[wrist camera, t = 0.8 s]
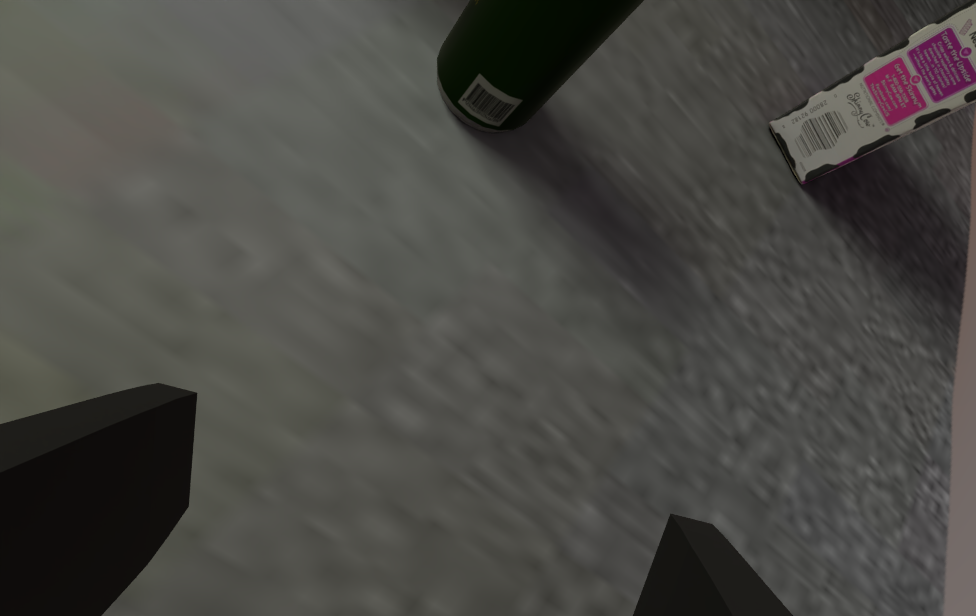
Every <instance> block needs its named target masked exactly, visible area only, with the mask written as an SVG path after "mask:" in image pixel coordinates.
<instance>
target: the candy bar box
mask: <svg viewBox="0 0 976 616" xmlns="http://www.w3.org/2000/svg"><path fill="white" fill-rule="evenodd" d="M974 102H976V0H968V1H967V2H965V3H964V4H962V5H960V6H958V7H957V8H955V9H953V10H952V11H950V12H949V13H947V14H945V15H944V16H942V17H940V18H939V19H937V20H936V21H934V22H932V23H930V24H929V25H928V26H926V27H924V28H923V29H921V30H919V31H918V32H916V33H914V34H913V35H911V36H910V37H908V38H906V39H905V40H903V41H902V42H900V43H899V44H897V45H895V46H894V47H892V48H890V49H889V50H887V51H885V52H884V53H882V54H880V55H879V56H877V57H875V58H874V59H872V60H871V61H869V62H868V63H866V64H864V65H863V66H861V67H859V68H858V69H856V70H855V71H853V72H851V73H850V74H848V75H846V76H845V77H843V78H842V79H840V80H838V81H837V82H835V83H833V84H832V85H830V86H829V87H827V88H825V89H824V90H822V91H820V92H819V93H817V94H815V95H814V96H812V97H811V98H809V99H807V100H806V101H804V102H803V103H801V104H799V105H798V106H796V107H794V108H793V109H791V110H790V111H788V112H786V113H785V114H783V115H782V116H780V117H778V118H776V119H775V120H773V121H771V122H769V126H770V128H771V130H772V132H773V134H774V136H775V138H776V140H777V142H778V144H779V146H780V148H781V149H782V151H783V153H784V155H785V157H786V159H787V161H788V163H789V165H790V167H791V169H792V171H793V172H794V174H795V176H796V177H797V179H798V181H799V182H800V183H801V184H805V183H807V182H809V181H812V180H814V179H816V178H818V177H820V176H822V175H825V174H827V173H829V172H831V171H833V170H835V169H838V168H840V167H842V166H844V165H846V164H848V163H850V162H852V161H854V160H856V159H858V158H860V157H863V156H865V155H867V154H869V153H871V152H873V151H875V150H877V149H879V148H881V147H883V146H885V145H888V144H890V143H892V142H894V141H896V140H898V139H900V138H902V137H904V136H906V135H908V134H911V133H913V132H915V131H917V130H919V129H921V128H923V127H925V126H927V125H929V124H931V123H933V122H935V121H937V120H939V119H942V118H944V117H946V116H948V115H950V114H952V113H954V112H956V111H958V110H960V109H962V108H964V107H966V106H968V105H970V104H972V103H974Z"/></svg>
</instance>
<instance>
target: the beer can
mask: <svg viewBox="0 0 976 616" xmlns="http://www.w3.org/2000/svg"><path fill="white" fill-rule="evenodd" d="M643 1H644V0H470V1H469V3H468V5H467V6H466V8H465V9H464V11H463V13H462V14H461V16H460V17H459V19H458V21H457V22H456V24H455V25H454V27H453V29H452V30H451V32H450V33H449V35H448V37H447V38H446V40H445V41H444V43H443V45H442V47H441V49H440V52H439V55H438V57H437V84H438V87H439V90H440V93H441V96H442V98H443V100H444V101H445V103H446V104H447V106H448V107H449V109H450V110H451V111H452V112H453V113H454V114H455V115H456V116H457V117H458V118H459V119H460V120H461V121H462V122H464V123H466V124H467V125H469V126H471V127H473V128H475V129H476V130H480V131H484V132H488V133H497V132H505V131H510V130H514V129H516V128H518V127H520V126H522V125H524V124H525V123H526V122H527V121H528V120H529V119H530V118H531V117H532V116H533V115H534V114H535V113H536V112H537V111H538V110H539V109H540V108H541V107H542V106H543V105H544V104H545V103H546V102H547V101H548V100H549V98H550V97H551V96H552V95H553V94H554V93H555V92H556V91H557V90H558V89H559V88H560V87H561V86H562V85H563V84H564V83H565V82H566V81H567V80H568V79H569V78H570V77H571V76H572V75H573V74H574V72H575V71H576V70H577V69H578V68H579V67H580V66H581V65H582V64H583V63H584V62H585V61H586V60H587V59H588V58H589V57H590V56H591V55H592V54H593V53H594V52H595V51H596V50H597V49H598V48H599V47H600V45H601V44H602V43H603V42H604V41H605V40H606V39H607V38H608V37H609V36H610V35H611V34H612V33H613V32H614V31H615V30H616V29H617V28H618V27H619V26H620V25H621V24H622V23H623V22H624V21H625V20H626V18H627V17H628V16H629V15H630V14H631V13H632V12H633V11H634V10H635V9H636V8H637V7H638V6H639V5H640V4H641V3H642V2H643Z"/></svg>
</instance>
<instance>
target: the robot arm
mask: <svg viewBox="0 0 976 616" xmlns="http://www.w3.org/2000/svg"><path fill="white" fill-rule="evenodd" d="M196 402H197V393H196V392H192V391H188V390H184V389H180V388H176V387H172V386H168V385H164V384H160V383H156V384H151V385H145V386H140V387H136V388H132V389H128V390H123V391H120V392H116V393H112V394H108V395H104V396H101V397H97V398H93V399H90V400H86V401H83V402H79V403H75V404H72V405H68V406H65V407H61V408H57V409H54V410H50V411H47V412H43V413H39V414H36V415H32V416H29V417H25V418H21V419H18V420H14V421H11V422H7V423H3V424H0V616H101V615H102V614H103V613H104V612H105V611H106V610H107V609H108V608H109V607H110V606H111V604H112V603H113V602H114V601H115V600H116V599H117V598H118V597H119V596H120V595H121V593H122V592H123V591H124V590H125V589H126V588H127V587H128V586H129V585H130V584H131V582H132V581H133V580H134V579H135V578H136V577H137V576H138V575H139V573H140V572H141V571H142V570H143V569H144V568H145V567H146V566H147V564H148V563H149V562H150V560H151V559H152V558H153V556H154V555H155V554H156V552H157V551H158V549H159V548H160V547H161V545H162V544H163V543H164V541H165V540H166V539H167V537H168V536H169V534H170V533H171V531H172V530H173V528H174V527H175V526H176V524H177V523H178V521H179V520H180V518H181V517H182V515H183V514H184V512H185V511H186V510H187V508H188V507H189V495H190V482H191V468H192V455H193V442H194V428H195V415H196ZM633 616H793V615H792V614H791V613H790V612H789V610H788V609H787V608H786V607H785V606H784V605H783V604H782V602H781V601H780V600H779V599H778V598H777V597H776V596H775V594H774V593H773V592H772V591H771V590H770V589H769V587H768V586H767V585H766V584H765V583H764V582H763V580H762V579H761V578H760V577H759V576H758V575H757V573H756V572H755V571H754V570H753V569H752V568H751V566H750V565H749V564H748V563H747V562H746V561H745V559H744V558H743V557H742V556H741V555H740V554H739V553H738V551H737V550H736V549H735V548H734V547H733V546H732V545H731V543H730V542H729V541H728V540H727V539H726V538H725V537H724V536H723V535H722V534H721V533H720V532H719V530H718V529H717V528H716V527H715V526H714V525H713V524H709V523H705V522H702V521H698V520H694V519H690V518H686V517H682V516H678V515H674V514H670V517H669V519H668V522H667V525H666V527H665V530H664V533H663V536H662V538H661V541H660V544H659V546H658V549H657V552H656V555H655V557H654V560H653V563H652V565H651V568H650V571H649V573H648V576H647V579H646V582H645V584H644V587H643V590H642V592H641V595H640V598H639V601H638V603H637V606H636V609H635V611H634V614H633Z"/></svg>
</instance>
